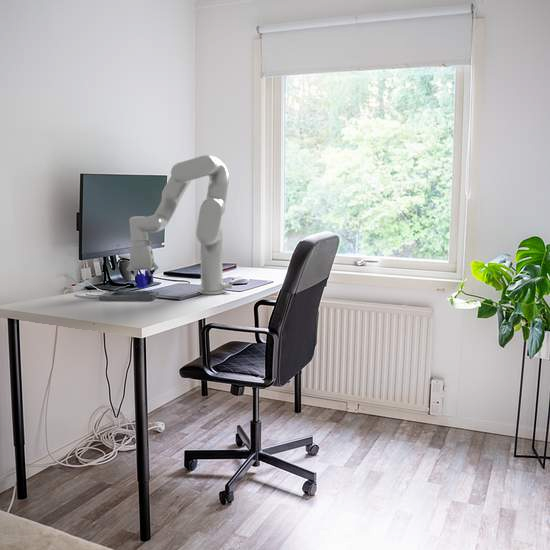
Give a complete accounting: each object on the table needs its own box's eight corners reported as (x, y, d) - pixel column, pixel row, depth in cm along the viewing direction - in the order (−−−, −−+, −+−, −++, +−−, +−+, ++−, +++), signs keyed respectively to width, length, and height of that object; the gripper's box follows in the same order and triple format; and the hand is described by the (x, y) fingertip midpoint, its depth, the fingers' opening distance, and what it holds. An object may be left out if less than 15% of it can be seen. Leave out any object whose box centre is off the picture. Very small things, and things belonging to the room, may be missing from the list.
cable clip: (144, 283, 294) (142, 270, 293) (153, 282, 294) (152, 269, 293) (134, 288, 283) (133, 274, 282) (144, 287, 282) (142, 274, 281)
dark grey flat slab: (159, 296, 279) (158, 291, 278) (152, 301, 269) (152, 295, 268) (107, 295, 281) (107, 290, 280) (99, 300, 271) (99, 295, 271)
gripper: (161, 242, 288) (164, 282, 291) (124, 244, 289) (128, 283, 292) (156, 244, 280) (160, 285, 283) (119, 246, 282) (123, 286, 285)
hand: (144, 284), depth 288 cm, fingers closed on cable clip, 4 cm apart
